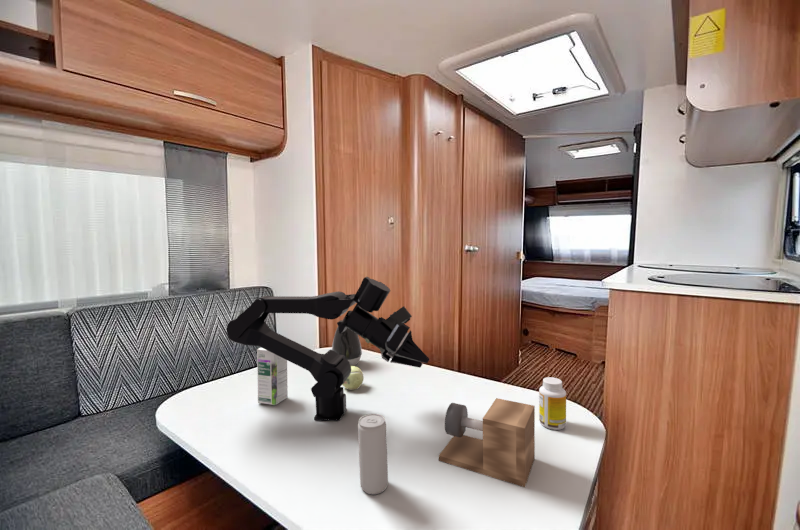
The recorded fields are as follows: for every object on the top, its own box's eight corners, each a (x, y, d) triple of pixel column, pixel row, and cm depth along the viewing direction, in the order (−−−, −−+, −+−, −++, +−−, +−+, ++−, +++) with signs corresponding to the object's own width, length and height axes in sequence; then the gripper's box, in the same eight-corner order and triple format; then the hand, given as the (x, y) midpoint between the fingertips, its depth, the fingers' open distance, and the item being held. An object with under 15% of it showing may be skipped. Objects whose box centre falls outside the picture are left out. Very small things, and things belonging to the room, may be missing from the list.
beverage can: (384, 498, 60) (381, 428, 59) (356, 494, 61) (353, 426, 60) (390, 478, 64) (388, 414, 64) (365, 476, 65) (362, 412, 64)
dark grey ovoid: (327, 370, 119) (325, 325, 117) (338, 359, 129) (336, 317, 128) (357, 371, 117) (355, 325, 116) (365, 360, 127) (363, 318, 126)
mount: (438, 460, 69) (437, 407, 68) (455, 437, 77) (455, 389, 76) (525, 487, 61) (524, 428, 60) (534, 458, 69) (534, 405, 68)
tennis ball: (337, 364, 105) (350, 370, 100) (356, 362, 109) (369, 367, 104) (335, 387, 104) (348, 393, 99) (354, 383, 109) (367, 389, 104)
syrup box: (256, 403, 95) (255, 349, 95) (271, 395, 101) (270, 343, 101) (275, 405, 93) (273, 350, 93) (288, 397, 99) (287, 345, 99)
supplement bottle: (571, 425, 80) (571, 381, 79) (556, 434, 77) (556, 387, 76) (548, 415, 85) (549, 373, 84) (534, 423, 82) (533, 379, 81)
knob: (445, 440, 70) (444, 410, 69) (456, 425, 75) (455, 397, 75) (488, 452, 66) (487, 420, 65) (497, 436, 71) (496, 406, 70)
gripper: (390, 287, 80) (450, 326, 78) (384, 309, 97) (433, 341, 95) (361, 329, 75) (425, 371, 74) (360, 344, 93) (412, 378, 91)
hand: (424, 363), depth 83 cm, fingers open, 9 cm apart
